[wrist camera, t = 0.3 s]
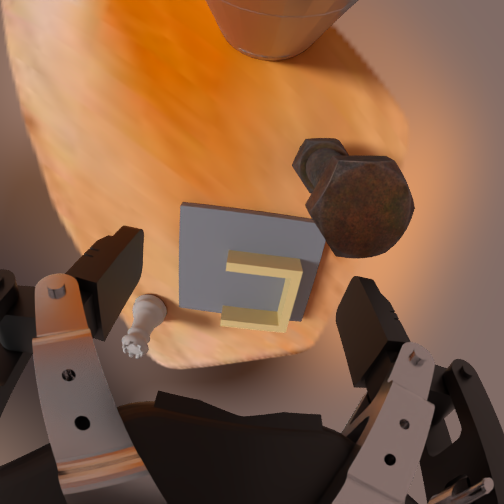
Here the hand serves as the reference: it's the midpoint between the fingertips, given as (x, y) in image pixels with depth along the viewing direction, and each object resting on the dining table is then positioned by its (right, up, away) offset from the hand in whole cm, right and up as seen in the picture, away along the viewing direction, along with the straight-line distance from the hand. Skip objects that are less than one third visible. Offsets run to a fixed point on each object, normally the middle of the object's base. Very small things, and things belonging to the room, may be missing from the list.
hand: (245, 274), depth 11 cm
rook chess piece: (-13, -6, +25) cm, 29 cm away
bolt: (+6, +10, +16) cm, 20 cm away
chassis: (0, -1, +22) cm, 22 cm away
